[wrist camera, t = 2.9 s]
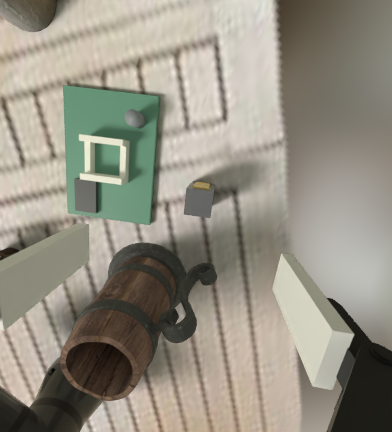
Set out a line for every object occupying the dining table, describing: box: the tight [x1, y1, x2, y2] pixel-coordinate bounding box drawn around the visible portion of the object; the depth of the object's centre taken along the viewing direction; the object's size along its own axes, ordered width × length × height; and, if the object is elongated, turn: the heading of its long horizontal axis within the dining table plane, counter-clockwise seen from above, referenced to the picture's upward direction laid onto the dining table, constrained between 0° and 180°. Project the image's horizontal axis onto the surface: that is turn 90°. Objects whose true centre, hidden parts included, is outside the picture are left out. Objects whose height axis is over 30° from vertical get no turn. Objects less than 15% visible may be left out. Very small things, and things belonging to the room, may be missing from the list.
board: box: [63, 85, 160, 225], centre depth 38 cm, size 22×16×4 cm
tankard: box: [60, 243, 217, 401], centre depth 36 cm, size 23×17×20 cm
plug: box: [184, 182, 214, 218], centre depth 36 cm, size 4×4×8 cm
